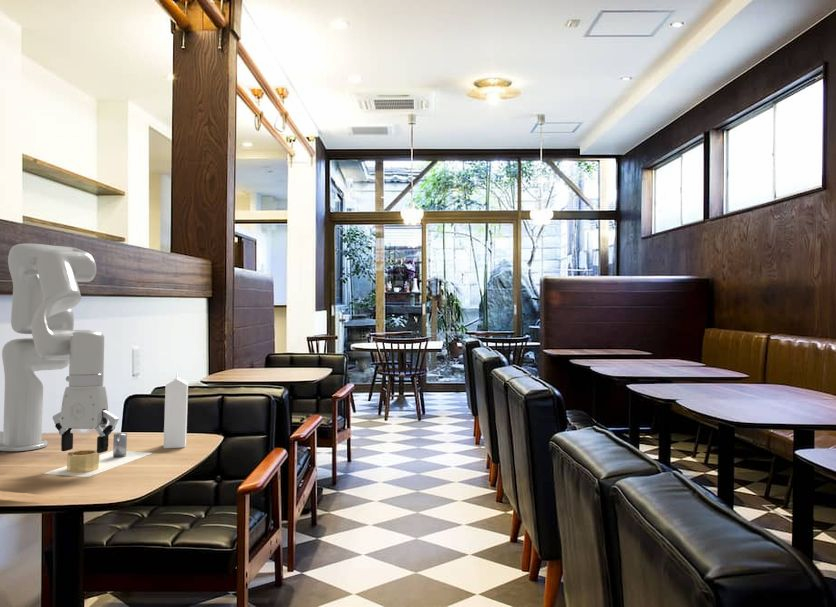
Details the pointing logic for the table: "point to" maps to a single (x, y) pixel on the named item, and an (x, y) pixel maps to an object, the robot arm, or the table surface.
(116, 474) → the table surface
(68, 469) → the ring
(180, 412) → the milk
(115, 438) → the cylinder
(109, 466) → the board
